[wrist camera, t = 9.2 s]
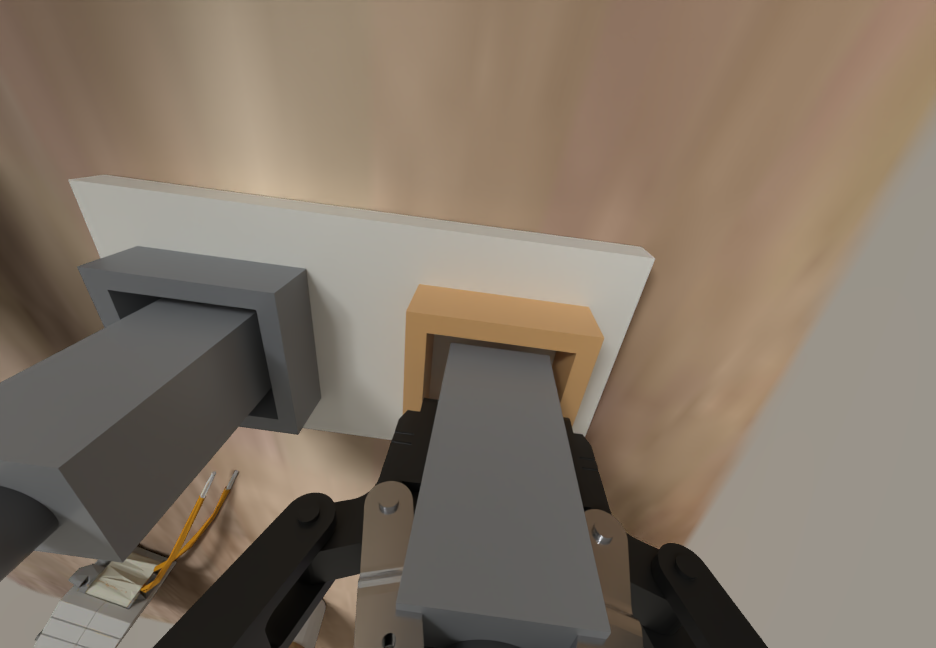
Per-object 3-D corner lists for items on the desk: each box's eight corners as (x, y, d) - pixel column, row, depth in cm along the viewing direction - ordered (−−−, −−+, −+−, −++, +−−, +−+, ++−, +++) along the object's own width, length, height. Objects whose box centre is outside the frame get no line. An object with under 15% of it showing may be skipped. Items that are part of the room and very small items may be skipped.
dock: (183, 391, 21) (-148, 675, 10) (104, 174, 15) (-878, 305, 4) (569, 443, 21) (646, 786, 10) (641, 246, 15) (1012, 564, 4)
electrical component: (192, 401, 26) (136, 447, 22) (268, 440, 28) (231, 491, 23) (84, 587, 32) (21, 655, 28) (151, 611, 34) (102, 679, 29)
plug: (443, 415, 16) (367, 824, 7) (450, 342, 14) (359, 774, 5) (529, 426, 16) (575, 854, 7) (549, 355, 14) (652, 816, 5)
